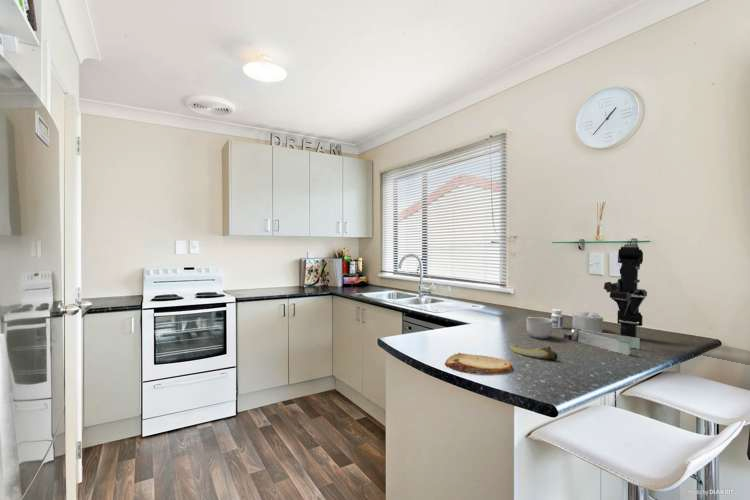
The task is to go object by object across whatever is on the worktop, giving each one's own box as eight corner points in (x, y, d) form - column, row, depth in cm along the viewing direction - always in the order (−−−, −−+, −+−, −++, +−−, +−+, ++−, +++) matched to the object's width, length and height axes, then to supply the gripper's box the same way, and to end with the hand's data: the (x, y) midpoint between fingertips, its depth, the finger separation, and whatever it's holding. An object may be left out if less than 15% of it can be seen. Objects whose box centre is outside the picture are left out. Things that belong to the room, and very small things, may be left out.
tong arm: (580, 340, 154) (580, 330, 154) (580, 339, 154) (581, 329, 154) (639, 349, 141) (639, 338, 141) (639, 349, 142) (639, 337, 142)
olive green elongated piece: (564, 358, 128) (564, 349, 128) (550, 364, 122) (550, 354, 122) (514, 347, 144) (514, 338, 144) (499, 351, 138) (499, 342, 138)
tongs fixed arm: (563, 338, 157) (563, 328, 157) (570, 337, 158) (570, 327, 158) (625, 355, 132) (625, 343, 132) (632, 354, 134) (632, 342, 134)
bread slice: (518, 370, 116) (518, 358, 116) (486, 382, 104) (486, 370, 104) (471, 356, 130) (472, 346, 130) (439, 365, 118) (439, 354, 118)
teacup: (556, 340, 153) (557, 322, 153) (531, 339, 153) (532, 321, 153) (542, 332, 167) (542, 315, 167) (519, 332, 167) (519, 315, 167)
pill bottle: (560, 326, 181) (560, 309, 181) (564, 328, 176) (564, 311, 176) (549, 326, 181) (549, 308, 181) (553, 328, 176) (553, 310, 176)
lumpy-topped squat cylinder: (584, 326, 182) (585, 309, 182) (608, 332, 170) (609, 314, 170) (569, 327, 179) (569, 310, 179) (592, 333, 167) (593, 315, 166)
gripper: (618, 274, 157) (617, 309, 158) (596, 276, 148) (595, 313, 148) (648, 276, 148) (646, 313, 148) (626, 278, 138) (625, 318, 139)
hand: (628, 314), depth 146 cm, fingers open, 9 cm apart
